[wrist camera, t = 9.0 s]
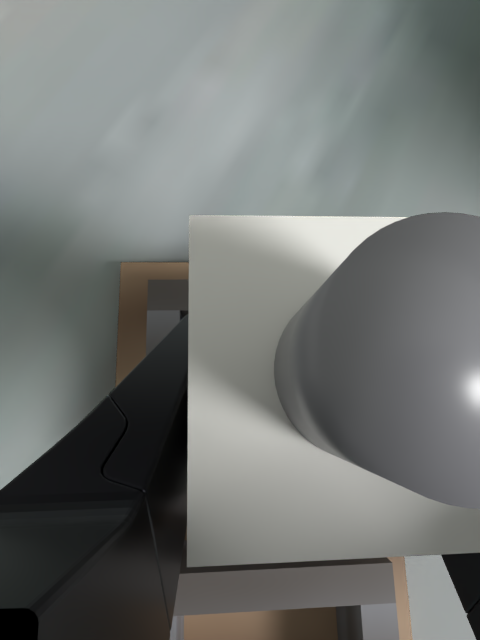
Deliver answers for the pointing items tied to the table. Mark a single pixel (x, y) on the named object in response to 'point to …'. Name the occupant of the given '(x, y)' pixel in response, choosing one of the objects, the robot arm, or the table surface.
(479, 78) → the table surface
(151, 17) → the table surface
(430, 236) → the plug
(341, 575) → the dock
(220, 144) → the table surface
